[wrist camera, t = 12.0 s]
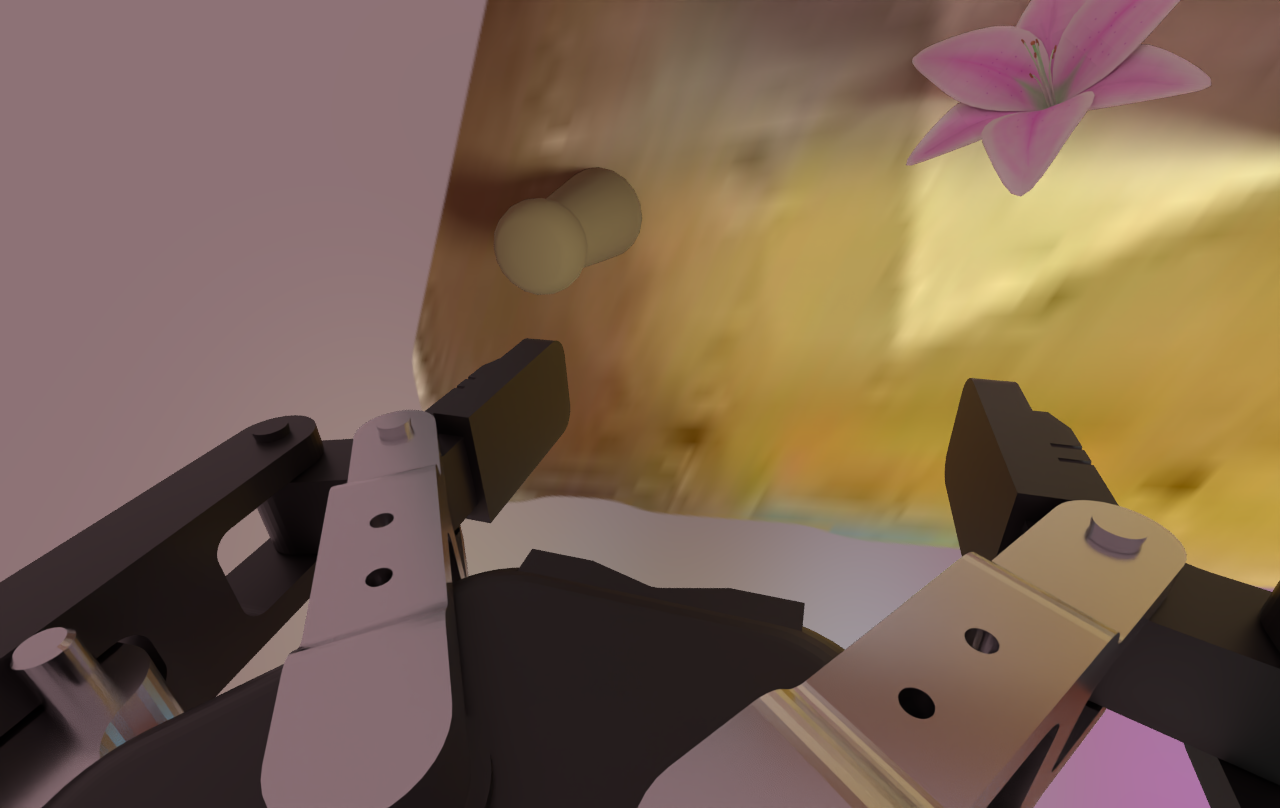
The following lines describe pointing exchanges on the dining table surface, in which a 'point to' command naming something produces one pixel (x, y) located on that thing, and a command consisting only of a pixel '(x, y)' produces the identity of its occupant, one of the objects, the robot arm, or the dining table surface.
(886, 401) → the dining table surface
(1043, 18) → the lily
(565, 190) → the cork
